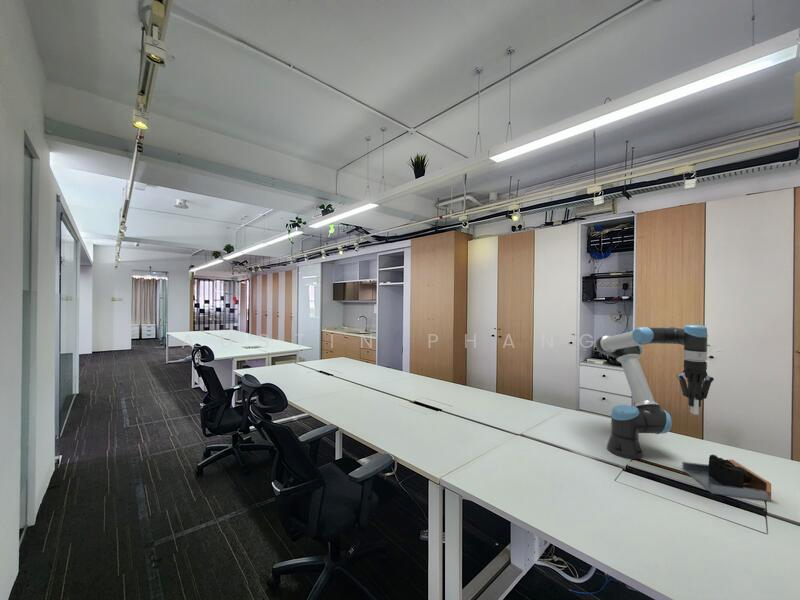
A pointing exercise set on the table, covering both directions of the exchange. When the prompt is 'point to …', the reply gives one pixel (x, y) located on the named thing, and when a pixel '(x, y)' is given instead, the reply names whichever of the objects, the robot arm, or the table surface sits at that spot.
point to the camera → (727, 472)
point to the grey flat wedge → (752, 489)
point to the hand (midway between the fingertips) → (694, 413)
